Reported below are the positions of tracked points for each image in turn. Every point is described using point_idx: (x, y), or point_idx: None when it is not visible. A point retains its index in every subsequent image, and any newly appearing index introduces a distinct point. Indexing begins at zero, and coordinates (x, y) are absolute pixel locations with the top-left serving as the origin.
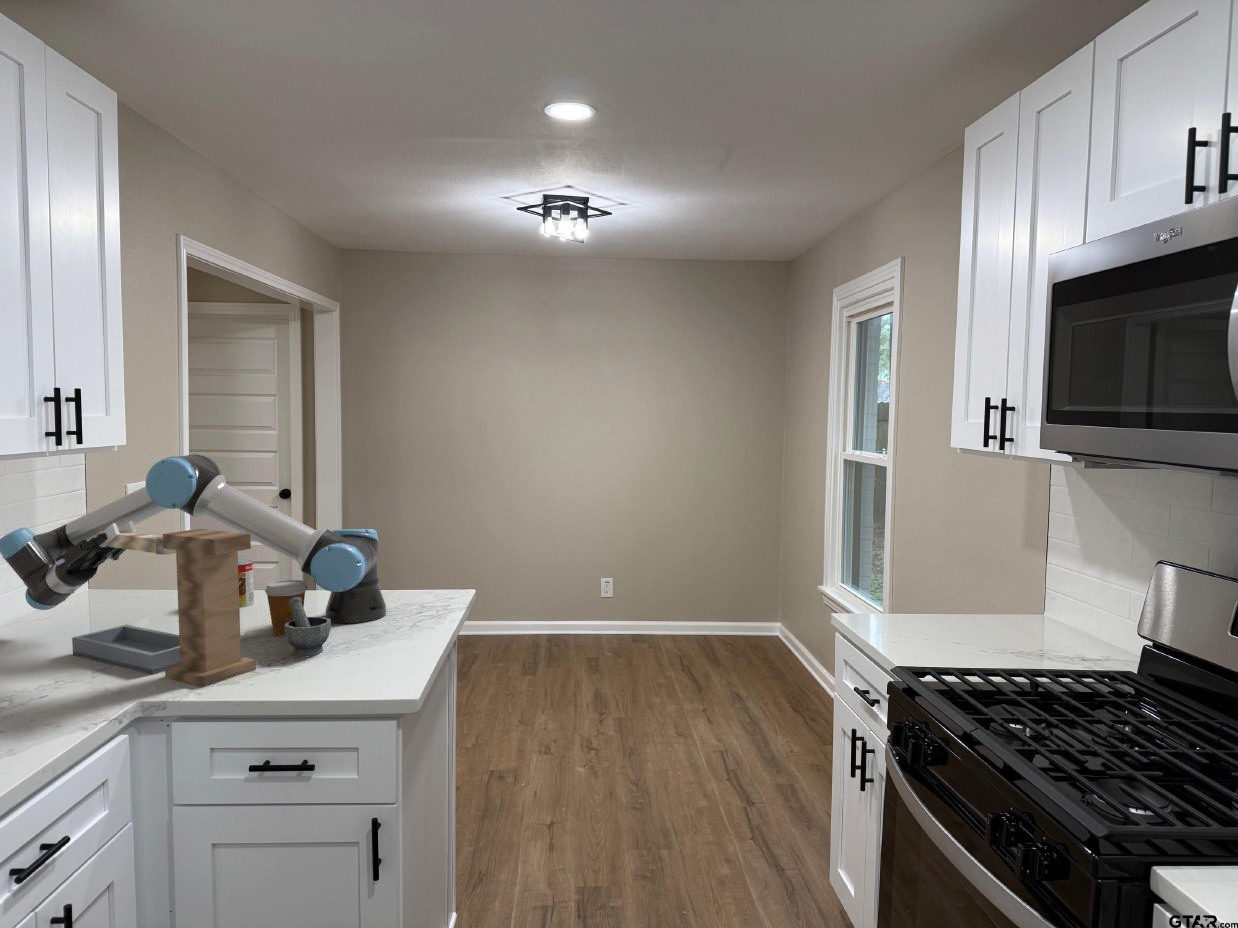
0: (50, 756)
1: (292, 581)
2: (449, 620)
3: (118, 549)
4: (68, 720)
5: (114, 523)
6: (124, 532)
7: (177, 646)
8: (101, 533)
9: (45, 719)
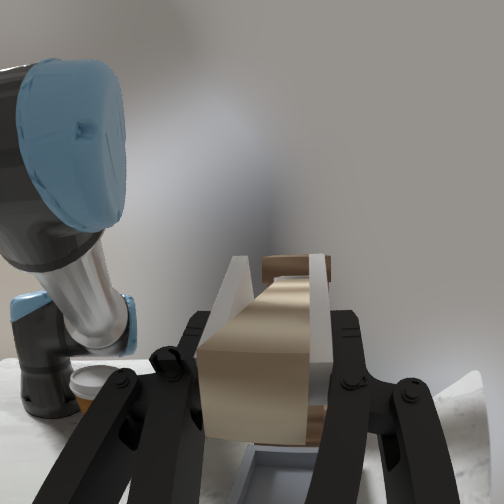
0: (462, 379)
1: (74, 376)
2: (96, 362)
3: (112, 492)
4: (448, 414)
5: (315, 254)
6: (261, 307)
7: (289, 452)
8: (349, 310)
9: (464, 423)
